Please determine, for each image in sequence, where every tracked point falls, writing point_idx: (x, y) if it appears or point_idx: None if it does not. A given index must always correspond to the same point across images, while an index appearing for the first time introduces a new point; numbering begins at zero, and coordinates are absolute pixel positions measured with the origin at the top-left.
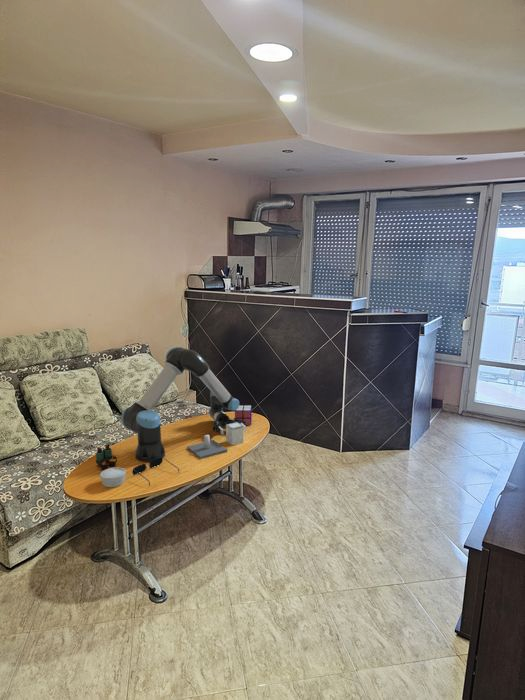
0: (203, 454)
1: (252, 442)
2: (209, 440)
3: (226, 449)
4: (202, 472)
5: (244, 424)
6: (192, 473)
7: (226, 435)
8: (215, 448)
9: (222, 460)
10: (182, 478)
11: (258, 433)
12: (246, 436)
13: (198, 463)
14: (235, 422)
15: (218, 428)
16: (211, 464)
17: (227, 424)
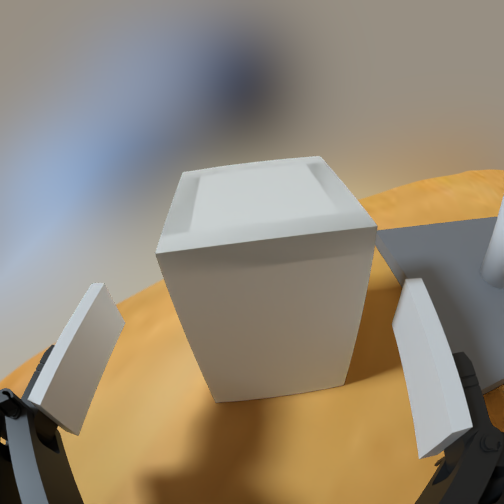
0: (491, 227)
1: (161, 291)
2: (496, 221)
3: (379, 232)
4: (460, 174)
5: (36, 369)
6: (485, 179)
7: (352, 344)
8: (445, 257)
9: (402, 197)
10: (500, 174)
11: (23, 385)
12: (115, 397)
13: (489, 207)
14: (183, 247)
15: (466, 392)
16: (442, 191)
17: (352, 223)
